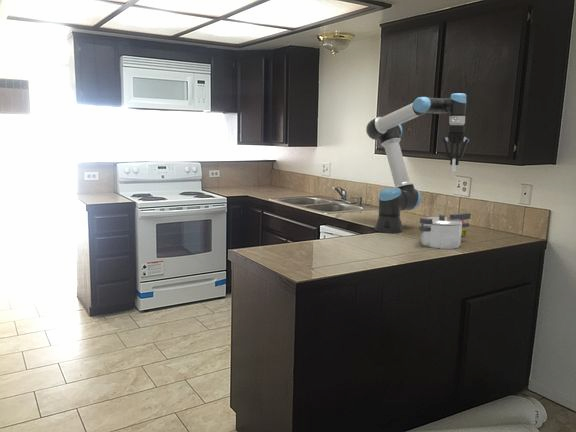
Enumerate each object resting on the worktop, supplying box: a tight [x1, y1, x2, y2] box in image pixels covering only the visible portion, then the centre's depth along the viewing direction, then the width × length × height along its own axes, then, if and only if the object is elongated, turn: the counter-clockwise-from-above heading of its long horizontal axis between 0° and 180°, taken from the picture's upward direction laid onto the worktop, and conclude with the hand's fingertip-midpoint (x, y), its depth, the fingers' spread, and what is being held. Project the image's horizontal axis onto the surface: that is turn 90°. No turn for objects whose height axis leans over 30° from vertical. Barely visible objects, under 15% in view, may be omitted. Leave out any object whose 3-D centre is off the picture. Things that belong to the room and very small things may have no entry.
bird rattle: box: [461, 220, 468, 237], centre depth 264 cm, size 6×11×9 cm
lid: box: [419, 212, 472, 225], centre depth 243 cm, size 31×19×3 cm, turn 121°
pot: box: [418, 222, 470, 250], centre depth 244 cm, size 18×29×11 cm, turn 117°
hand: (453, 171), depth 255 cm, fingers closed
